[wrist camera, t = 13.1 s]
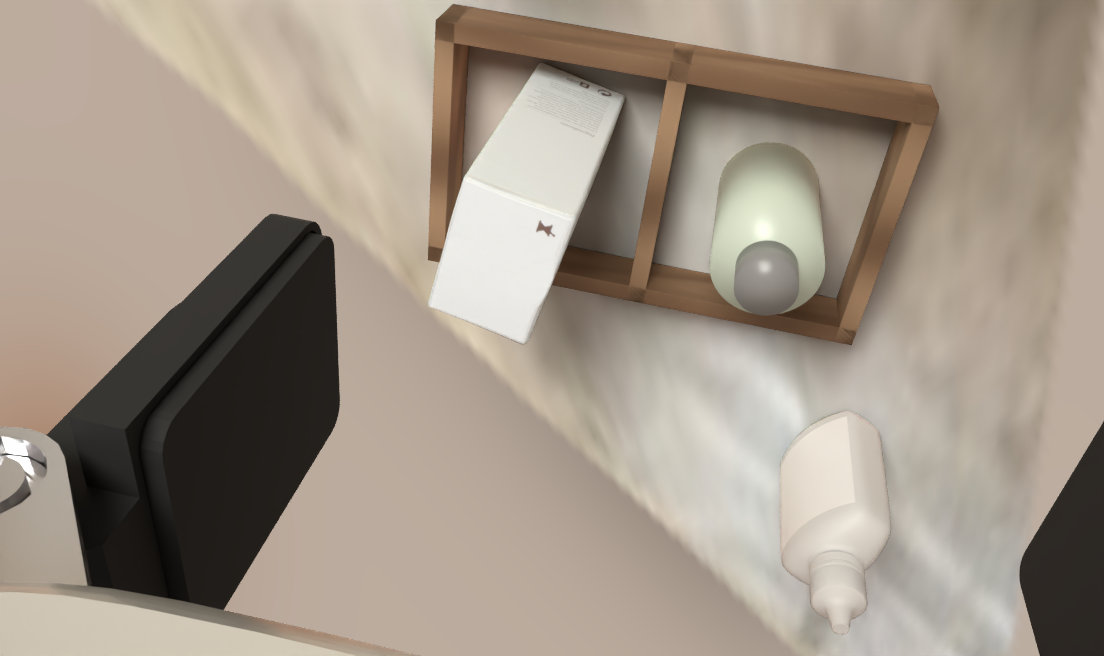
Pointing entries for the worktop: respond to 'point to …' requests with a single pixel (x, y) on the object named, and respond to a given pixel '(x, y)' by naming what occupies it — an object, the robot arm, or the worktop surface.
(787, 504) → the eye dropper bottle
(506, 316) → the skincare box
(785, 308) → the sage bottle
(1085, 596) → the robot arm
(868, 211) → the wooden frame
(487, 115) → the worktop surface
